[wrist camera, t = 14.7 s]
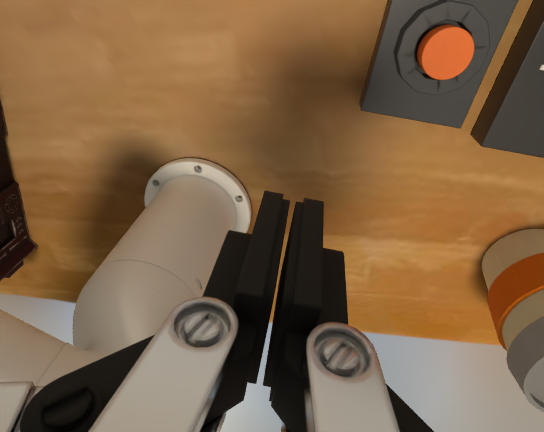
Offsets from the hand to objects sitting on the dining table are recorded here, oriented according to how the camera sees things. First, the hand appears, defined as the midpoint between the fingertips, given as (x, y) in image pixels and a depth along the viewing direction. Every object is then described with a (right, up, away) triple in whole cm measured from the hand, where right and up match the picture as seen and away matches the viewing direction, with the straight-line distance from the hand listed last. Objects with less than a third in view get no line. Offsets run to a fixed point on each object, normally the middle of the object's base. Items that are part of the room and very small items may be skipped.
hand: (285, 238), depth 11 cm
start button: (+13, +13, +18) cm, 26 cm away
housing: (+13, +15, +21) cm, 29 cm away
